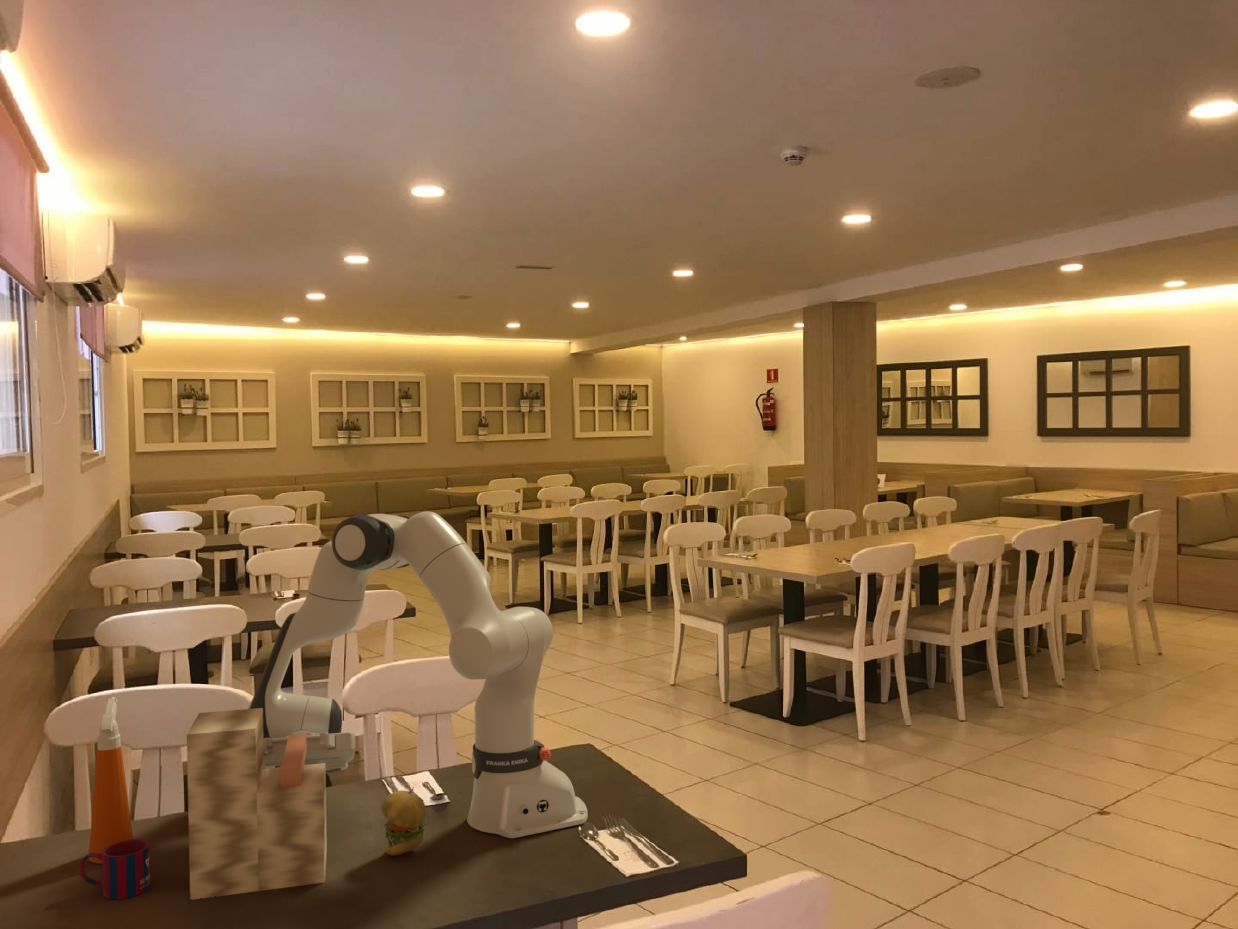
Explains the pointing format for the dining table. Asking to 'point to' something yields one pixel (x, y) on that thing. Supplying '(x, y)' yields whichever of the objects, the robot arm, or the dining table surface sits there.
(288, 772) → the bar
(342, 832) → the dining table surface
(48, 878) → the dining table surface
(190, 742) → the stepped stand
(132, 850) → the mug
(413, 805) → the hamburger
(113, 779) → the spray bottle
